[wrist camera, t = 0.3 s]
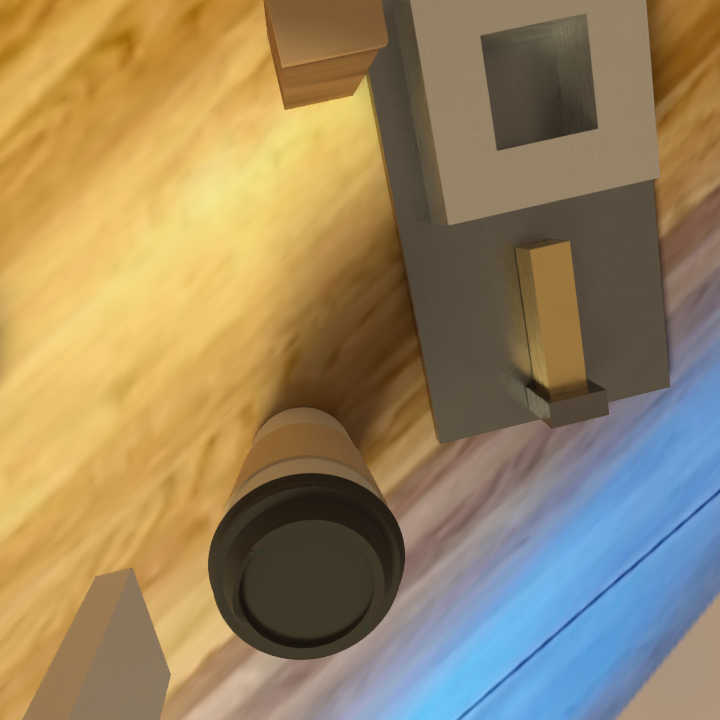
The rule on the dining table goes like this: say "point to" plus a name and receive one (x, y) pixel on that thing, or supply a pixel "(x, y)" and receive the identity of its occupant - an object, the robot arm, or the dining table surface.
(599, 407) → the pin
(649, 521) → the dining table surface
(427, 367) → the dock
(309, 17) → the peg
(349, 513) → the coffee cup
